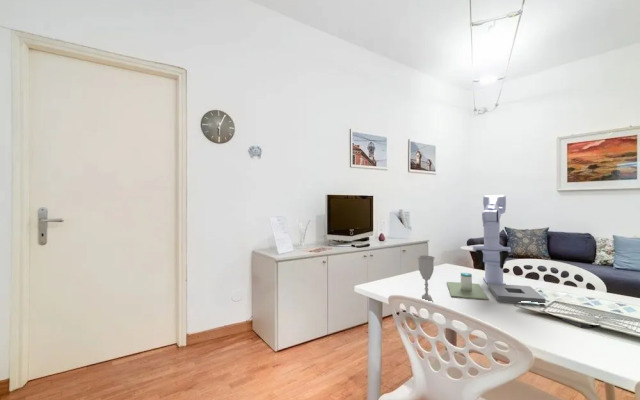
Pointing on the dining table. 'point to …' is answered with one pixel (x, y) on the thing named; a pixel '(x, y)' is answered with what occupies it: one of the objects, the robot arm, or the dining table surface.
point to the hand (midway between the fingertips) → (491, 267)
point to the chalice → (426, 272)
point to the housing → (515, 293)
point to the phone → (577, 323)
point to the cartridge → (466, 281)
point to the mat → (474, 294)
